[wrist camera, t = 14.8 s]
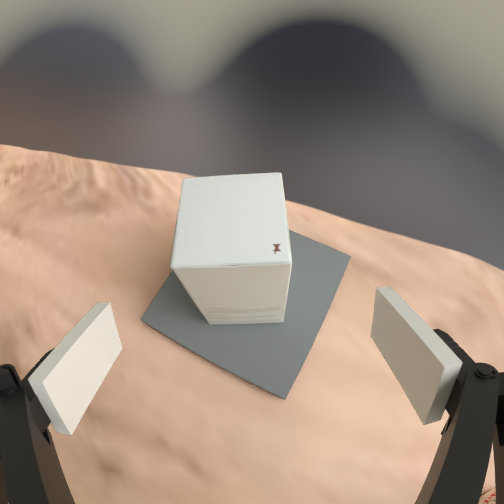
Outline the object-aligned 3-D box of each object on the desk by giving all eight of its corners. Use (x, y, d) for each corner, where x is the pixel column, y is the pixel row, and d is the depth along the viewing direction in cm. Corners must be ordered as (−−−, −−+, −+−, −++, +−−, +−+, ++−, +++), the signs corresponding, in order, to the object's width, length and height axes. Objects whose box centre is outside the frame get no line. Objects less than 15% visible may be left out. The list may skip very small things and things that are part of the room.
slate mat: (144, 322, 30) (140, 319, 30) (220, 207, 37) (219, 201, 36) (284, 399, 26) (285, 399, 25) (348, 260, 33) (350, 256, 32)
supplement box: (280, 255, 32) (286, 169, 21) (284, 324, 29) (294, 265, 18) (209, 256, 33) (181, 174, 22) (206, 325, 29) (167, 269, 18)
